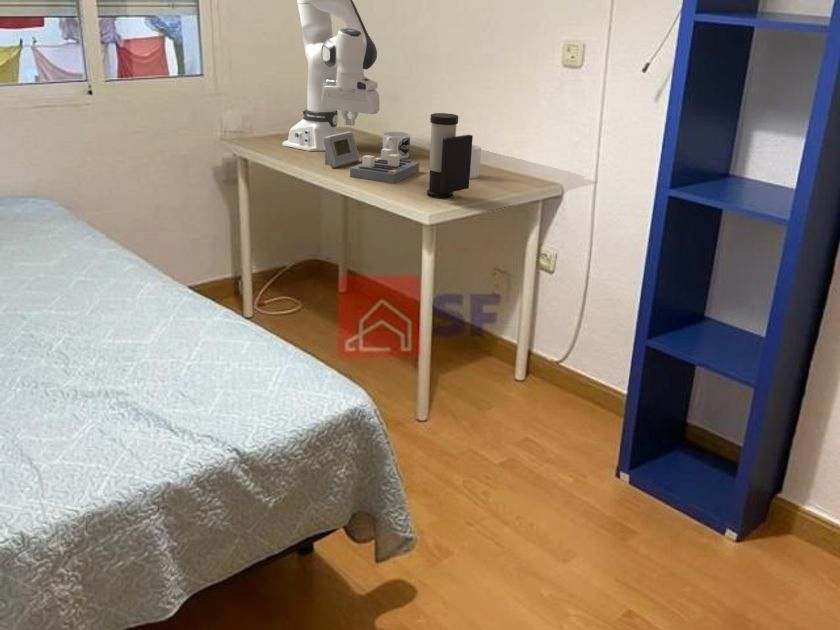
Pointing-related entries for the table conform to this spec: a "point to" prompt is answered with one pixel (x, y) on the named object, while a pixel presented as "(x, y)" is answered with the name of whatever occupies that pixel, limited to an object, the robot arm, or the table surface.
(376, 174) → the switch unit
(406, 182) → the table surface
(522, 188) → the table surface
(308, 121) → the robot arm
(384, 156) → the slider
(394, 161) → the slider
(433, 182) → the light fixture
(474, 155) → the mug
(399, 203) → the table surface
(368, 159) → the slider
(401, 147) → the mug
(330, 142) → the digital clock
